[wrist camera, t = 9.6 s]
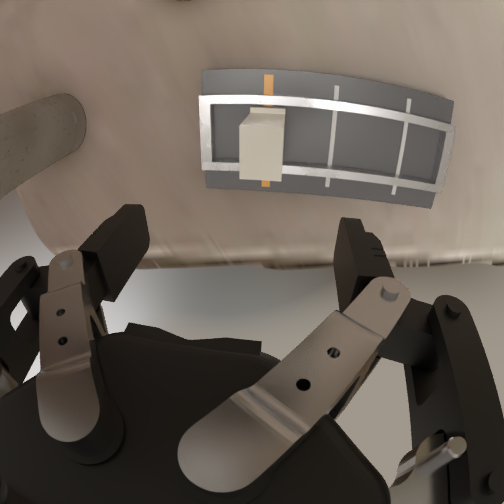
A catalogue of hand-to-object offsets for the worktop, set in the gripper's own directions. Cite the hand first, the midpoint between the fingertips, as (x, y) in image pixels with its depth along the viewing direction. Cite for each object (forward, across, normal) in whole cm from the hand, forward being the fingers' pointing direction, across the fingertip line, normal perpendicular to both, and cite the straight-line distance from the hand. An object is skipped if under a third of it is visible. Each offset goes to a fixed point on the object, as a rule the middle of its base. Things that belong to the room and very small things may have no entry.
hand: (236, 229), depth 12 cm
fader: (+17, 0, 0) cm, 17 cm away
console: (+20, -6, 0) cm, 20 cm away
